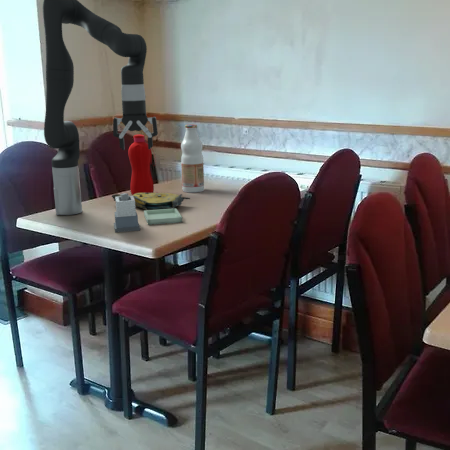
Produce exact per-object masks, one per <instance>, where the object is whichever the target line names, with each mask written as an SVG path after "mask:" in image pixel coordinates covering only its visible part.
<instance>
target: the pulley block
mask: <svg viewBox="0 0 450 450" xmlns="http://www.w3.org/2000/svg"><path fill="white" fill-rule="evenodd" d="M121 194H122V193H120V194H118V193H116V194H112V195H111V197H112V199H113V202H116V200H115V197H119V196H121ZM128 196H131V195H130V194H128ZM132 196H133V197H134V199H135V207H138V208H140V209H143V210H144V211H146V210H160V209H174V208H176V207H178V206H181V205H182V204H183V203H182V202H183V201H184V200H190V199H191V198H190V197H184V196H183V194H180V195H179V194H176V193H170V192H153V193H135V194H133V195H132Z"/></svg>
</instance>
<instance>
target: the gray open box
mask: <svg viewBox="0 0 450 450" xmlns="http://www.w3.org/2000/svg"><path fill="white" fill-rule="evenodd" d="M115 200H116V201H115V210H116V211H115V212H117V217H126V216H136V212H137V209H136V206H135V199H134V197H133V195H130V196H129V200H126V201H121V196H119V197H115Z"/></svg>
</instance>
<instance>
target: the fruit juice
mask: <svg viewBox="0 0 450 450" xmlns="http://www.w3.org/2000/svg"><path fill="white" fill-rule="evenodd" d="M184 128H185V132H184V135H183V136H184V137H183V139H182V141H181V143H180V149H181V158H180V163H181V165H180V166H181V185H182V186H181V188H182V191H183V192H185V193H192V194H193V193H200V192H203V191H204V190H205V176H204V175H205V173H204V172H205V171H204V169H205V168H204V157H203V153H202V152H203V148H204V147H203V142H202V141H201V139H200V137H199V134H198V130H197V129H198V125H197V124H185V127H184Z"/></svg>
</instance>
